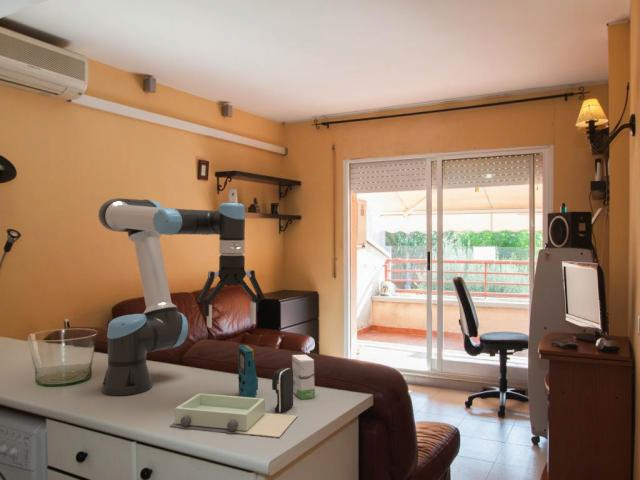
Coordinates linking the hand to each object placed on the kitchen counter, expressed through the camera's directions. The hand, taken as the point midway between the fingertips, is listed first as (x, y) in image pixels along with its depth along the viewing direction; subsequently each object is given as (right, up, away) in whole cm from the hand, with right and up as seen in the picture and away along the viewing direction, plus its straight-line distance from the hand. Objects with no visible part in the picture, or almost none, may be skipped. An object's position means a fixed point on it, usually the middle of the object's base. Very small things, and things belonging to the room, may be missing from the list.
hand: (231, 325), depth 152 cm
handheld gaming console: (+4, -23, +4) cm, 23 cm away
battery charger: (+16, -23, -8) cm, 29 cm away
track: (+4, -23, -17) cm, 29 cm away
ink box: (+21, -23, +5) cm, 32 cm away
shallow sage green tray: (0, -23, -16) cm, 28 cm away
